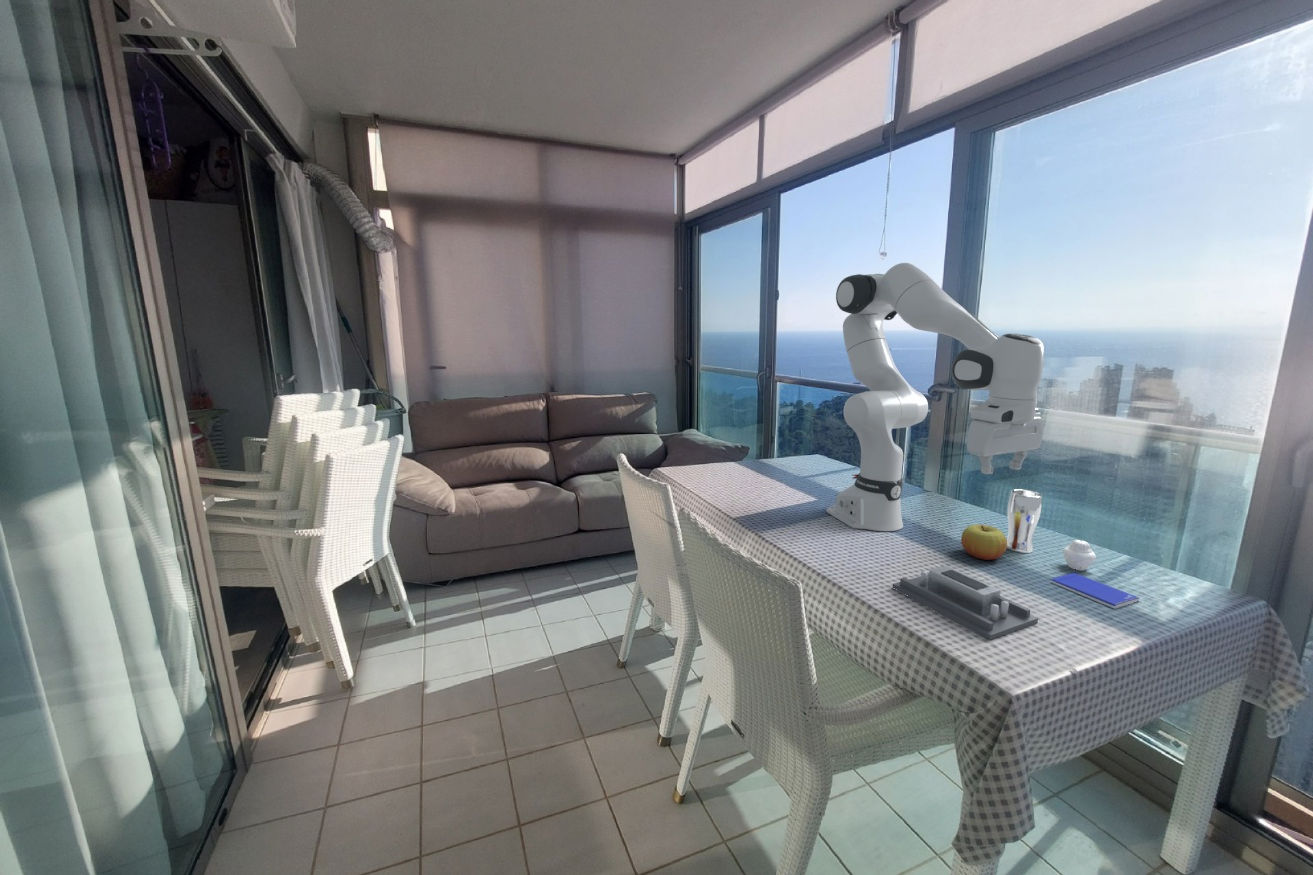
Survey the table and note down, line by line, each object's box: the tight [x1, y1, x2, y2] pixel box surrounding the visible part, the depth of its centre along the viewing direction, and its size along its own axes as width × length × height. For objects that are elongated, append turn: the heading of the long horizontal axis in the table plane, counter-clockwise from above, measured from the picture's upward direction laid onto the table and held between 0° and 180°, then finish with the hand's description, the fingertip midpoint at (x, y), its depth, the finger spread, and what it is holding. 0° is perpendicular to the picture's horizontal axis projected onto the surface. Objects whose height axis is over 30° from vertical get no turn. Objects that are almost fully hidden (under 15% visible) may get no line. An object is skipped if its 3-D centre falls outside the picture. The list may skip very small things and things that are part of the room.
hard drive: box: [1050, 572, 1140, 610], centre depth 115 cm, size 2×8×12 cm
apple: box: [960, 524, 1007, 561], centre depth 132 cm, size 10×10×8 cm
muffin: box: [1062, 539, 1097, 571], centre depth 126 cm, size 6×6×7 cm
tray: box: [892, 568, 1039, 641], centre depth 109 cm, size 22×14×4 cm, turn 25°
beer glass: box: [1006, 488, 1043, 554], centre depth 136 cm, size 7×7×15 cm
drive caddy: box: [927, 565, 1002, 616], centre depth 109 cm, size 12×5×5 cm, turn 25°
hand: (1001, 471), depth 119 cm, fingers open, 8 cm apart
